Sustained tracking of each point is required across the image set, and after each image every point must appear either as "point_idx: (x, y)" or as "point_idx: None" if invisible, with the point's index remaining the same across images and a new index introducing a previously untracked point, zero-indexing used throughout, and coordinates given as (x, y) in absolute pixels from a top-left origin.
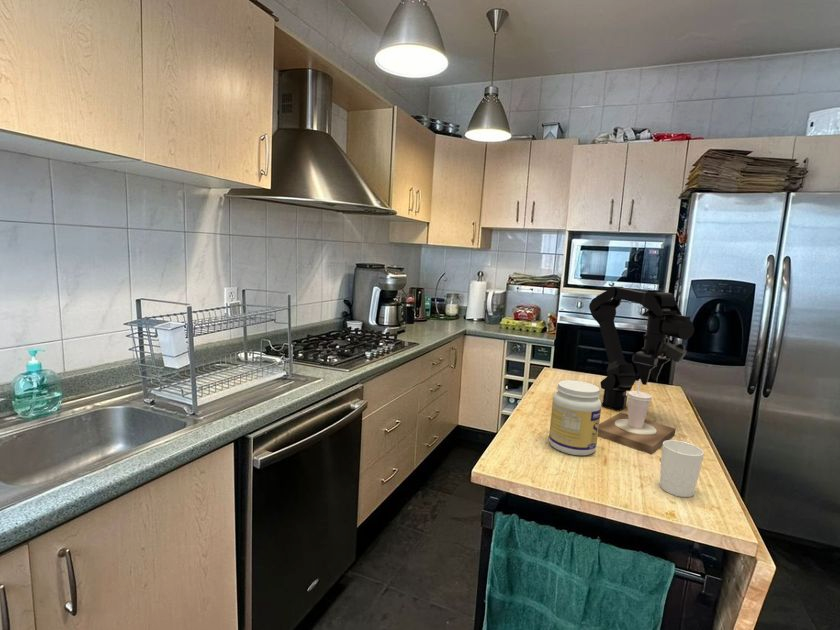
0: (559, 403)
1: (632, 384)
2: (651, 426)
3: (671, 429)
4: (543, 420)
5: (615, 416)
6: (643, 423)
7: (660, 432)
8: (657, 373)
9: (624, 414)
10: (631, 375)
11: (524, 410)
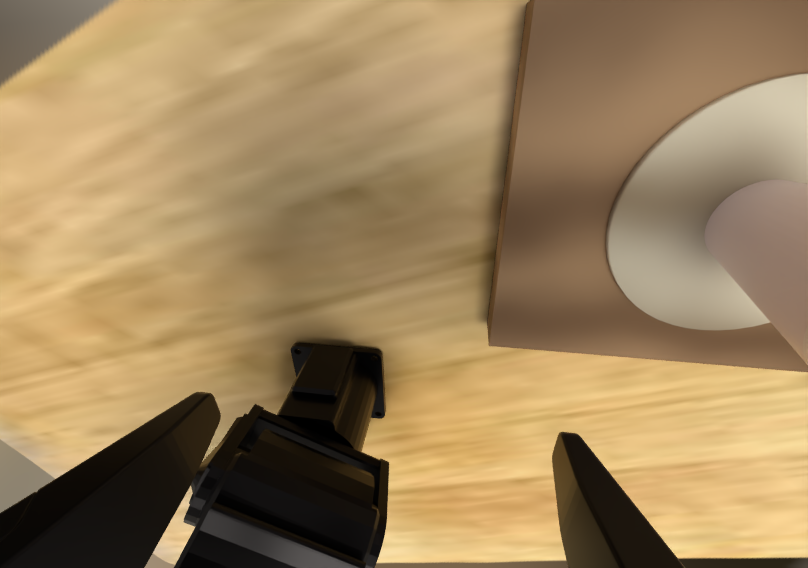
0: None
1: (268, 442)
2: (680, 142)
3: (593, 12)
4: (767, 503)
5: (590, 346)
6: (804, 185)
7: (745, 53)
8: (144, 463)
9: (510, 324)
10: (261, 524)
11: (684, 552)
